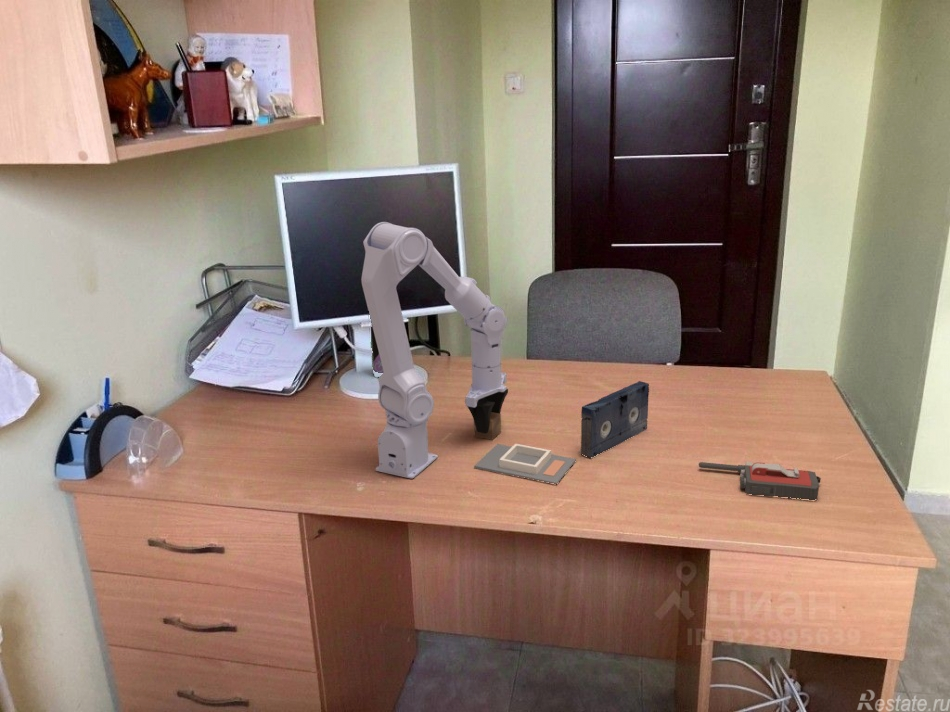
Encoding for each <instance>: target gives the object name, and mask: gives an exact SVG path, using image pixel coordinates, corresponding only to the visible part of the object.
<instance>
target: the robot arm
mask: <svg viewBox="0 0 950 712" xmlns="http://www.w3.org/2000/svg"><path fill="white" fill-rule="evenodd" d="M362 244H363V246H364V251H365V255H364V260H363V266H362V273H361V286H362V292H363V294H364V299H365V303H366V306H367V311H369V314H368V316H369V315H370V319H371V323H372V327H373V331H374V335H375V339H376V343H377V347H378V351H379V355H380V359H381V363H382V367H383V371H384V373H383V374H382V375H381V376H380V377H379V378H377V381H378V384H379V385H378V386H379V388H378V389H379V390H378V393H377V394H378V395H377V396H378V397H377V399H378V404H379V405H380V407H382V408H383V409H384V410H385V416H386V424H385V427H384V429H383V431H382V432H381V433H380V434H379V436H378V439H377V450H378V451H377V452H378V453H377V454H378V462H379V465H377V466H376V467H375V471H376V472H381V473H385V474H389V475H393V476H398V477H403V478H406V479H414V478H415V477H417V476H418V475H419V474H420V473H421V472H422V471H424V470H425V469H427V467H428V466H429V465H431V464H432V463H433V462H434V461H435V460H436V459H437V458H439V457H438V455H437V454H435V453H431V452H429V445H428V444H429V443H428V422H429V419H430V417H431V415H432V413H433V411H434V406H435V401H434V397H433V396H432V394H431V393H430V392H429V391H428V390H427V386H426V382H425V381H424V379H423V378H422V377H421V375H420V373H418V371H417V370H416V368H415V364H414V360H413V356H412V351H411V348H410V347H411V346H410V343H409V337H408V334H407V329H406V325H405V321H404V316H403V313H402V308H401V304H400V299H399V295H398V292H397V286H398V285H399V283H400V282H401V281H403V279H404V278H405V277H407V275H409V273H410V272H412V270H414V269H415V268H416V267H417V266H419V267H420V268H421V269H422V270H423V271H424V272H426V273H427V274H428V275H429V276H430V277H432V279H434V281H435V282H436V283H438V285H440V286H441V287H442V288H443V289H444V298H445V300H446V302H448V303H449V304H450V305H451V306H452V307H453V308H454V310H456V311H457V312H458V313H459V315H461V316H462V318H463V324H464V325H465V326H466V327H468V328H469V329H470V348H471V349H470V351H471V352H470V353H471V354H470V355H471V357H470V358H471V359H470V360H471V384H470V387H469V390H468V393H467V395H466V396H465V399H464V404H465V407H467V409H468V410H469V412H470V414H471V416H472V419H473V424H474V423H475V426H476V429H477V432H480V433H485V434H486V433H488V430H489V422H490V415H491V412H494V413H500V414H501V412H502V407H503V403H504V401H505V399H506V397H507V395H508V394H509V389H508V387H507V385H504V384H506V383H507V381H508V380H507V375H508V374H507V373H506V372H502V341H503V339H504V338H503V336H504V331H505V329H506V327H507V324H508V317H506V314H505V311H504V310H503V309H502V308H501V306H498V305H496V304H493V303H492V302H491V297H490V296H489V295H488V294H484V293H483V291H482V290H481V289H480V288H478V286H477V284H478V282H477V281H476V280H475V279H474V278H472V277H468V276H463V275H462V276H459V275H458V274H457V273H456V271H455V270H454V269H453V268H452V267H451V266H450V264H449V263H448V262H447V260H445V258H444V257H443V255H441V253H440V252H439V251H438V249H436V247H435V246H434V244H433V241H432V240H431V239H429V238H428V237H427V236H425V234H424V233H423V232H422V230H420V229H418V228H416V227H406V226H402V225H396V224H393V223H391V222H387V221H381V222H378V223H376V224H374V226H373V227H372V228H371V229H370V230H369V232H368V234H367V235H366V237H365V238H364V240H363V243H362Z"/></svg>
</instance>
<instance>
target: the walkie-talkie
mask: <svg viewBox="0 0 950 712" xmlns="http://www.w3.org/2000/svg"><path fill="white" fill-rule="evenodd" d="M744 464H745V465H744ZM744 464H738V465H737V464H726V463H725V464H723V463H717V462H714V463H713V462H703V461H700V462H698V467H699V468H701V469H709V470H721V471H729V472H732V471H733V472H737V473H740V475H739V478H740V479H739V481H740V482H739V483H740V484H739V488H740V489H743V490H744V494H745V493H747V494H752V495H764V496H778V497H788V498H790V497H791V498H796V499H797V498H799V499H800V498H801V499H809V500H815V499H817V500H818V497H819V496H818V495H819V490H820V489H819V488H820V483H821V479H822V478H821V477H820V476H817V475H816V471H811V470H804V469H802V470H800V469H799V468H798V467H793V469H791V468H785V467H783V466H782V465H781V464H779V463H778V464H777V463H765V462H750V461H745V463H744ZM747 494H746V495H747ZM752 495H751V496H752Z"/></svg>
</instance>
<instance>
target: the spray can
mask: <svg viewBox="0 0 950 712" xmlns="http://www.w3.org/2000/svg"><path fill="white" fill-rule="evenodd" d="M371 348H372V351H373V353H372V356H371V367H373V370H374V371H375V372H378V373H384V371H383V367H382V363H381V359H380V355H379V351H378V347H377V343H376V339H375V335H374V331H373V327H371V342H370V349H371ZM373 370H372V371H373Z"/></svg>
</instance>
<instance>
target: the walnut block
mask: <svg viewBox="0 0 950 712" xmlns="http://www.w3.org/2000/svg"><path fill="white" fill-rule="evenodd" d="M501 415H502V414H501V412H500V413H494V412H491V415H490V422H489V430H488V433H486V434H485V433H480V432H477V429H476V426H475V423H474V422H473V432H474V433H473V436H474V437H476V438H481V439H486V440H492V441H493V440H494V439H495V438H496V437H497V436H498V435H500V434H501V433H502V421H501V420H502V419H501V418H502V416H501Z"/></svg>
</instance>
